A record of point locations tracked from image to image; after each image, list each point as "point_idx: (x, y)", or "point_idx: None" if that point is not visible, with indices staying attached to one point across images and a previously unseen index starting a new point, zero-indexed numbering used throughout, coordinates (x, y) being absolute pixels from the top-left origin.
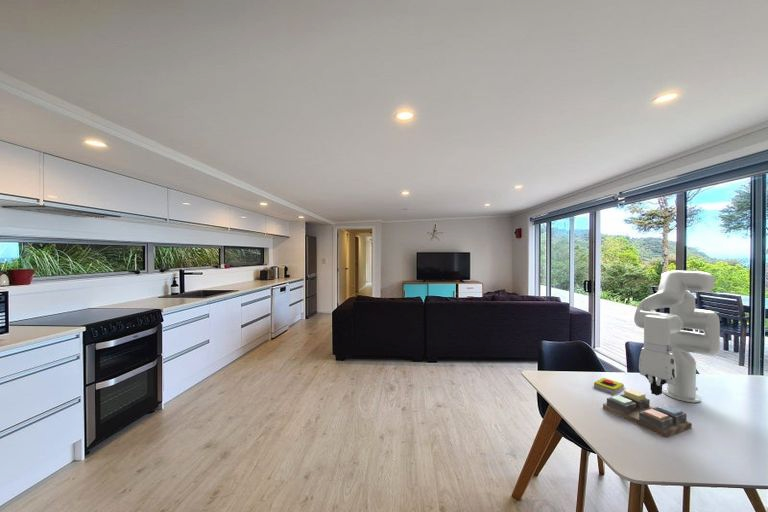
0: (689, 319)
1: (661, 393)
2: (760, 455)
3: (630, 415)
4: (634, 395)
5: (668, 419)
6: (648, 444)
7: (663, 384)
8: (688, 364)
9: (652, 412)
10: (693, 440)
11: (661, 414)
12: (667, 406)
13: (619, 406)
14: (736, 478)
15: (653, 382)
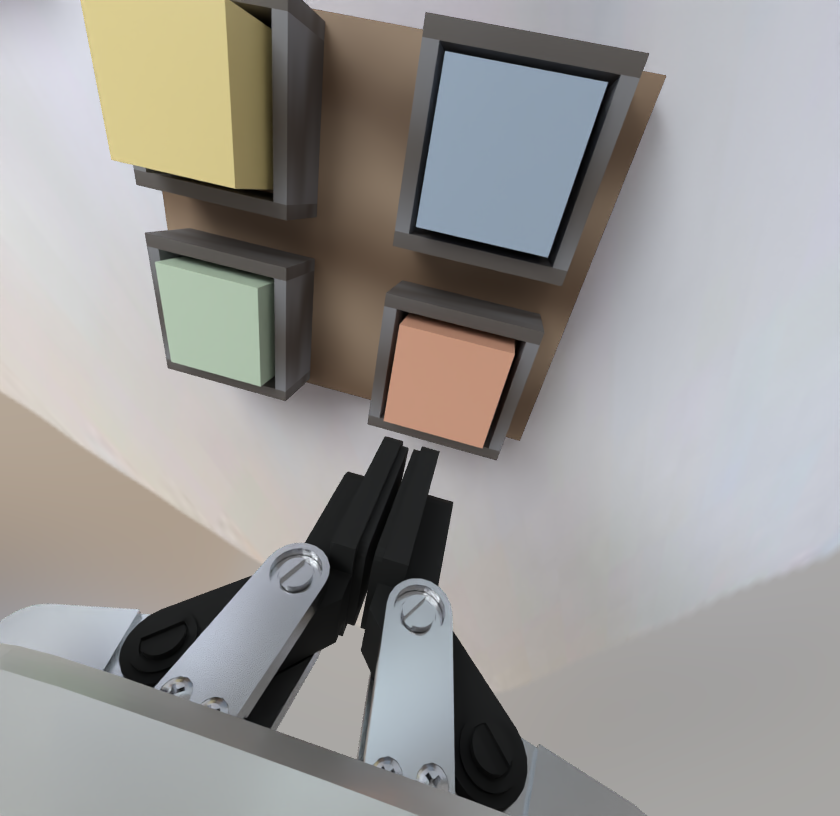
0: None
1: (450, 504)
2: None
3: (334, 380)
4: (208, 181)
5: (521, 389)
6: (475, 535)
7: (447, 610)
8: None
9: (425, 397)
10: (645, 331)
11: (476, 381)
12: (474, 98)
13: None
14: (776, 559)
15: (326, 634)
